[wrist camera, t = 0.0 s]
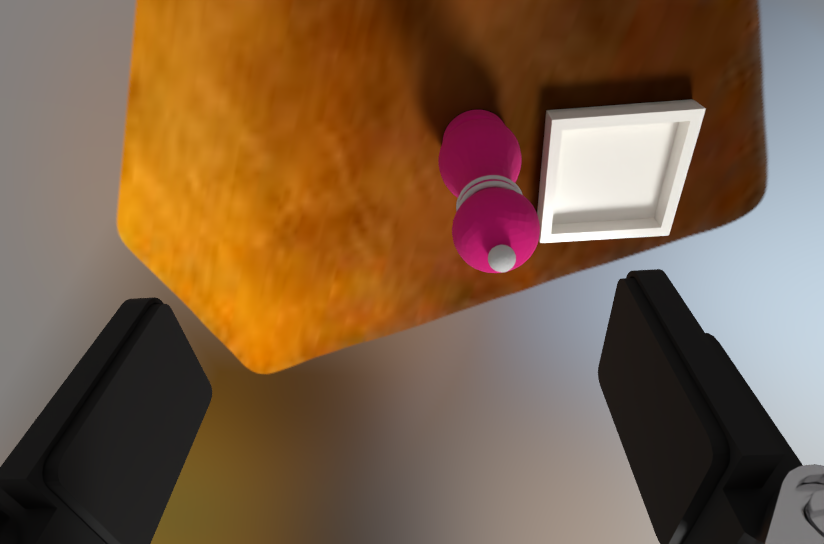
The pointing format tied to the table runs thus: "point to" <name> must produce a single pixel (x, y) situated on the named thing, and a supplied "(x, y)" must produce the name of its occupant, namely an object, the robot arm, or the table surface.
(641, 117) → the ceramic dish
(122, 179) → the table surface
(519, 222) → the pepper mill
